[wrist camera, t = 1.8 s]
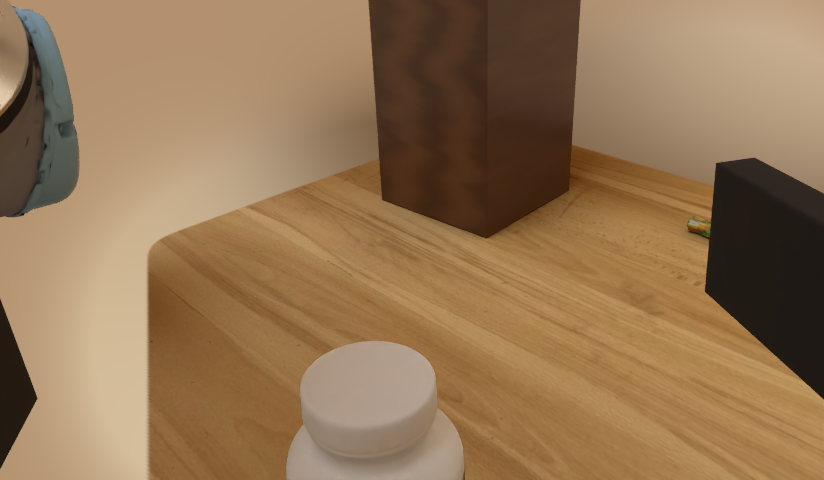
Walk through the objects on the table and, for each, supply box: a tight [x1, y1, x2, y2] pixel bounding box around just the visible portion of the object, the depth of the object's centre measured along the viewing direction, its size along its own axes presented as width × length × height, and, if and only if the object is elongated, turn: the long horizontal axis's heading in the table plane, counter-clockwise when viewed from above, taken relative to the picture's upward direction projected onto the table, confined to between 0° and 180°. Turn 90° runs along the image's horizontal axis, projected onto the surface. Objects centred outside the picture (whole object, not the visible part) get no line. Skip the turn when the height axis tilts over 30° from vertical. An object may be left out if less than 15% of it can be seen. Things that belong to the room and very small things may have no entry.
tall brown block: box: [369, 0, 581, 238], centre depth 60 cm, size 14×14×27 cm
